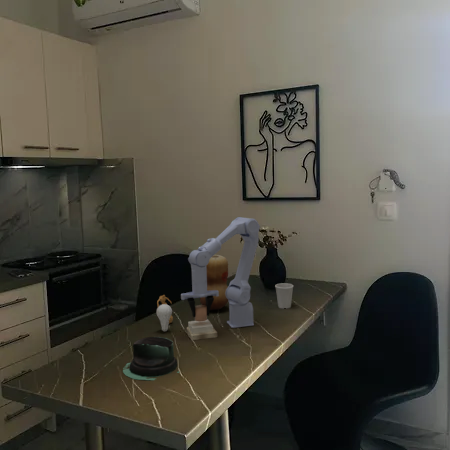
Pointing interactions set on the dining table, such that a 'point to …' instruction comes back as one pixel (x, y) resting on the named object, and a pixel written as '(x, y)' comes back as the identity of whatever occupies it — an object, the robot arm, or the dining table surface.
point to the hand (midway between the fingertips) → (200, 315)
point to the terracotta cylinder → (200, 313)
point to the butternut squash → (217, 281)
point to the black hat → (151, 358)
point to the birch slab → (201, 335)
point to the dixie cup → (284, 294)
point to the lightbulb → (164, 315)
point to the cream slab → (200, 327)
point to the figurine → (162, 299)
